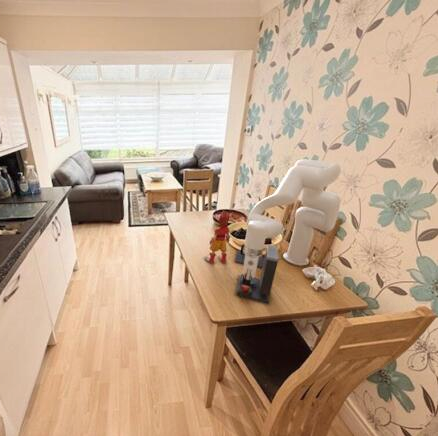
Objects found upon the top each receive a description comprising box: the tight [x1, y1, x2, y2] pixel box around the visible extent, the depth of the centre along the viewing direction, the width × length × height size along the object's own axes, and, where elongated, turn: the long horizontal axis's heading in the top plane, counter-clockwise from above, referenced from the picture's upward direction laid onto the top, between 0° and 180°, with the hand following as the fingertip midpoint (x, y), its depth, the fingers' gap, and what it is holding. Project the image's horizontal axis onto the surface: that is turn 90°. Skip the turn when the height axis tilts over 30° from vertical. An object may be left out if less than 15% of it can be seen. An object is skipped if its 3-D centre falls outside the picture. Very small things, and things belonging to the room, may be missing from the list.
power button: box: [242, 285, 249, 291], centre depth 109 cm, size 3×3×2 cm
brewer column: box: [239, 244, 280, 296], centre depth 108 cm, size 13×13×19 cm
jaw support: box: [301, 264, 336, 291], centre depth 114 cm, size 12×9×10 cm
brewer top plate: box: [234, 249, 264, 269], centre depth 136 cm, size 14×14×1 cm
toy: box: [204, 209, 231, 264], centre depth 129 cm, size 12×9×30 cm
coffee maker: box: [236, 277, 269, 305], centre depth 112 cm, size 15×13×3 cm
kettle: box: [240, 243, 245, 259], centre depth 133 cm, size 9×8×11 cm
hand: (245, 284), depth 108 cm, fingers closed
